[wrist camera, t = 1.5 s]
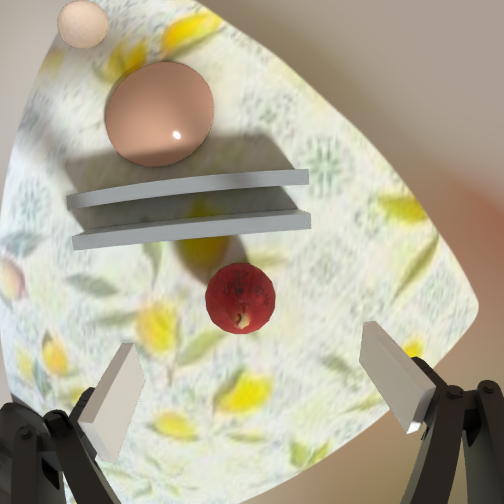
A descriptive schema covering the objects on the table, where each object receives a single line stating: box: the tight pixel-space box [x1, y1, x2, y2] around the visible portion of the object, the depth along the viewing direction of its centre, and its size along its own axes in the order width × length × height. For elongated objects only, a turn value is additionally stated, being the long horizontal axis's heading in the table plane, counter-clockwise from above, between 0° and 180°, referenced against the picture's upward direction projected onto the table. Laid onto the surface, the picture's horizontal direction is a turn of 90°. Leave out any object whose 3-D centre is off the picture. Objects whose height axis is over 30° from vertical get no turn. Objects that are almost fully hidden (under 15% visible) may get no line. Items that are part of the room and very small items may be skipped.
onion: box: [205, 263, 275, 334], centre depth 24 cm, size 6×6×8 cm
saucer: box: [106, 62, 214, 167], centre depth 23 cm, size 10×10×1 cm
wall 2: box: [66, 169, 309, 210], centre depth 23 cm, size 20×1×4 cm, turn 94°
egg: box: [58, 0, 109, 49], centre depth 17 cm, size 5×5×7 cm
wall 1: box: [72, 209, 311, 250], centre depth 24 cm, size 20×1×4 cm, turn 94°
